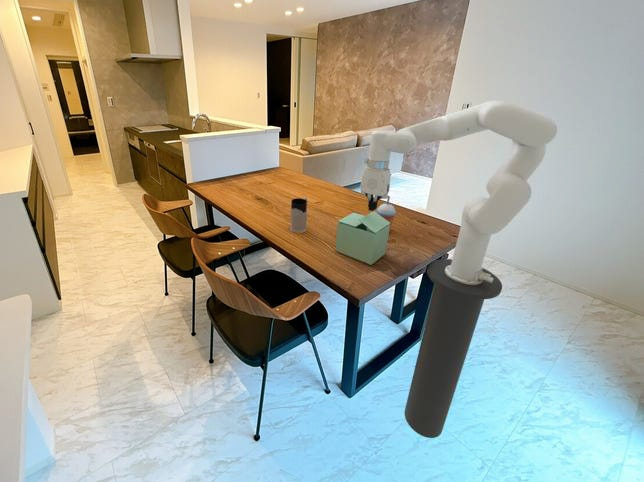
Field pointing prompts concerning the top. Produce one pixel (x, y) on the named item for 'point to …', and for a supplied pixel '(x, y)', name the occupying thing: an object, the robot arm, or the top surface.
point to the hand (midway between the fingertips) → (372, 209)
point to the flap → (374, 222)
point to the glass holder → (298, 215)
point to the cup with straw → (387, 212)
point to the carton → (360, 240)
